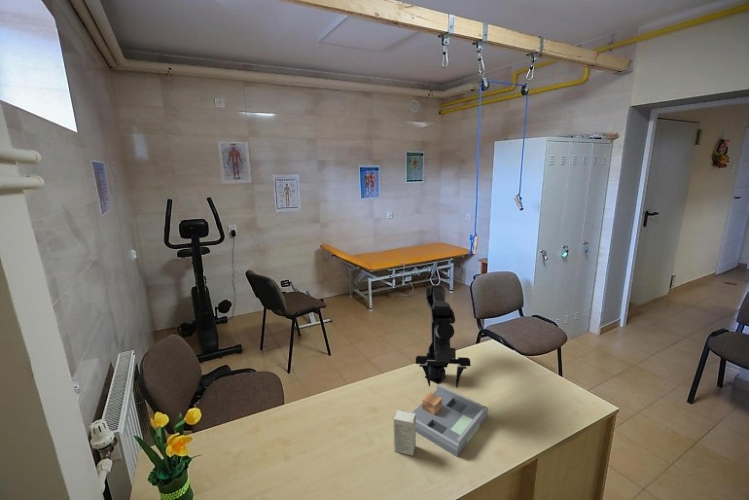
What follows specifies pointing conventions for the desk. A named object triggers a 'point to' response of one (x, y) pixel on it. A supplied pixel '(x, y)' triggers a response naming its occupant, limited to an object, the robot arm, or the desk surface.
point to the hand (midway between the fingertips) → (443, 387)
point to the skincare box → (404, 432)
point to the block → (431, 403)
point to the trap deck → (451, 421)
